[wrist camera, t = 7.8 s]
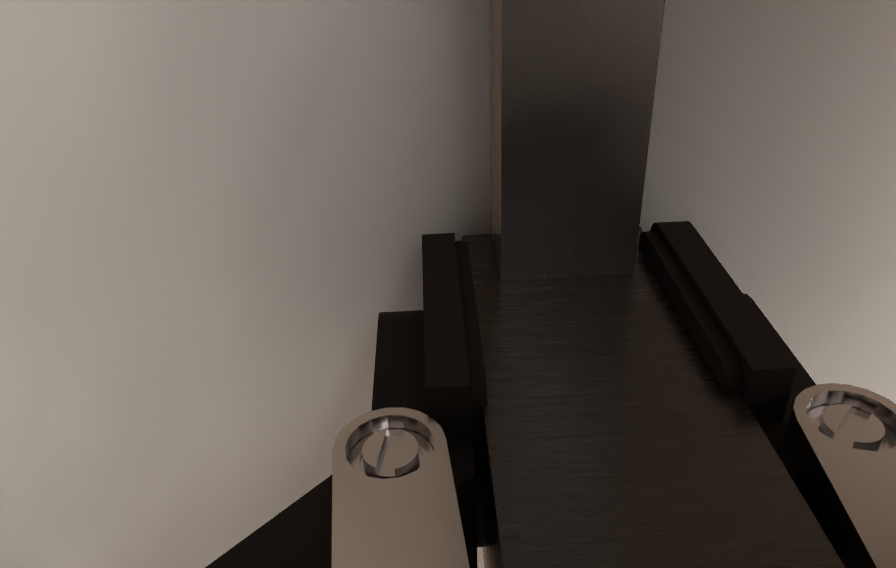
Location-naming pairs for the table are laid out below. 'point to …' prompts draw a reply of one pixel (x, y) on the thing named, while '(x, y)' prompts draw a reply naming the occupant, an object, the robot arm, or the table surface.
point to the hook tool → (603, 329)
